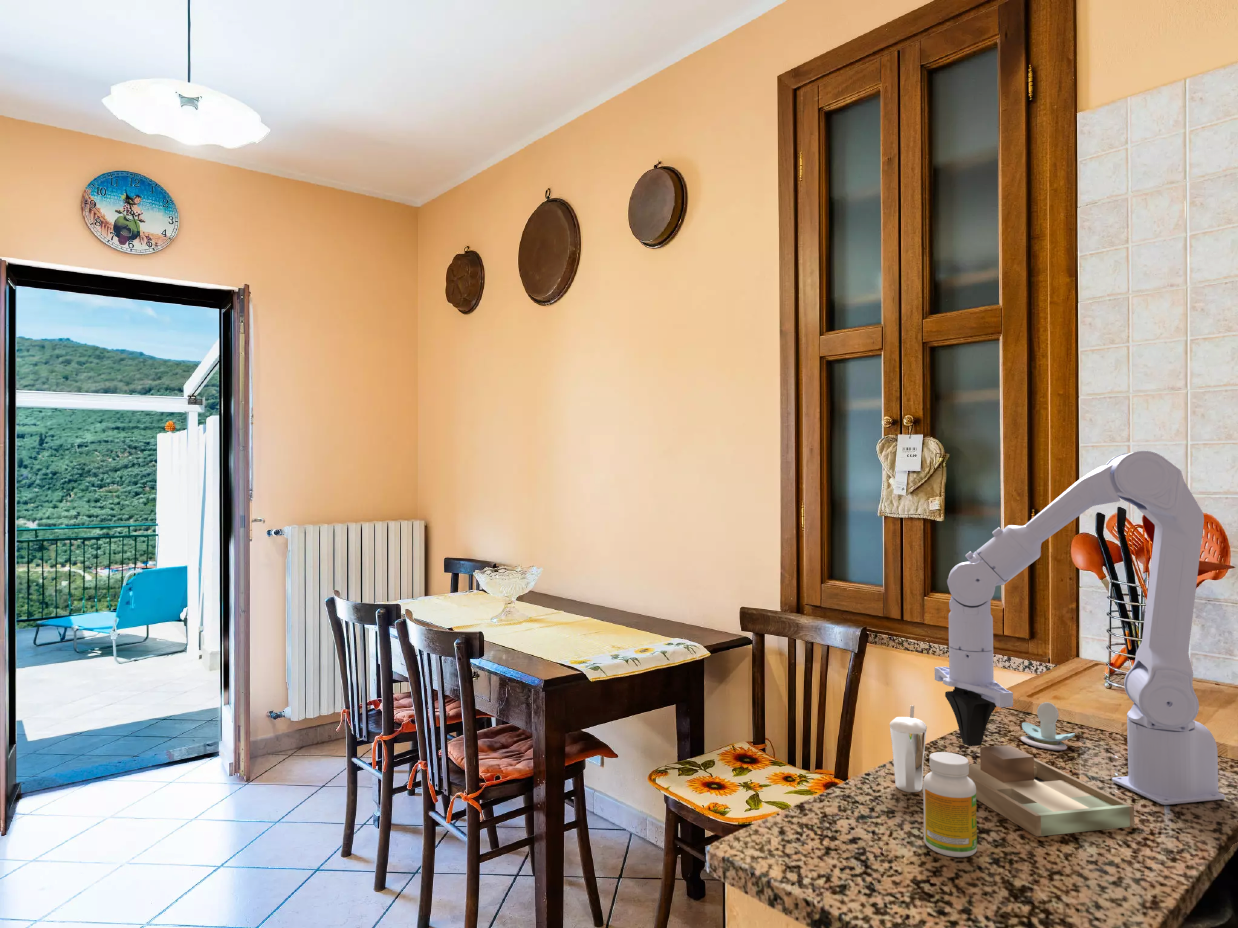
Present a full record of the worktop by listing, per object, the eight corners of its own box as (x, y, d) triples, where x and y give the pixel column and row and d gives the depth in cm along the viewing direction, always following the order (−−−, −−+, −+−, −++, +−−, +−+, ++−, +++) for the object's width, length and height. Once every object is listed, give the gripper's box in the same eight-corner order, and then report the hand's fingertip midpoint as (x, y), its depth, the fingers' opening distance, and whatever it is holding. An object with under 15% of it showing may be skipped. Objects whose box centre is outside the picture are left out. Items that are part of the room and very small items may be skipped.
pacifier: (1063, 756, 112) (1079, 746, 116) (1062, 714, 112) (1078, 705, 116) (1012, 743, 118) (1028, 734, 122) (1011, 703, 118) (1027, 695, 122)
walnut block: (1010, 767, 103) (1009, 744, 104) (1034, 779, 99) (1033, 756, 99) (980, 769, 103) (980, 747, 103) (1003, 782, 98) (1003, 758, 98)
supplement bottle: (983, 860, 81) (981, 768, 81) (929, 855, 82) (928, 764, 82) (970, 837, 86) (969, 750, 87) (919, 833, 87) (918, 747, 88)
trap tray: (1026, 770, 106) (1026, 753, 106) (1134, 826, 89) (1133, 806, 89) (942, 777, 104) (942, 760, 104) (1036, 836, 86) (1036, 815, 87)
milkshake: (931, 783, 102) (930, 707, 102) (923, 797, 97) (922, 718, 98) (896, 776, 104) (895, 702, 105) (887, 789, 100) (885, 712, 100)
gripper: (915, 638, 114) (916, 729, 114) (979, 660, 100) (980, 764, 100) (958, 636, 116) (959, 726, 115) (1026, 658, 102) (1027, 761, 101)
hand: (971, 744), depth 108 cm, fingers closed
